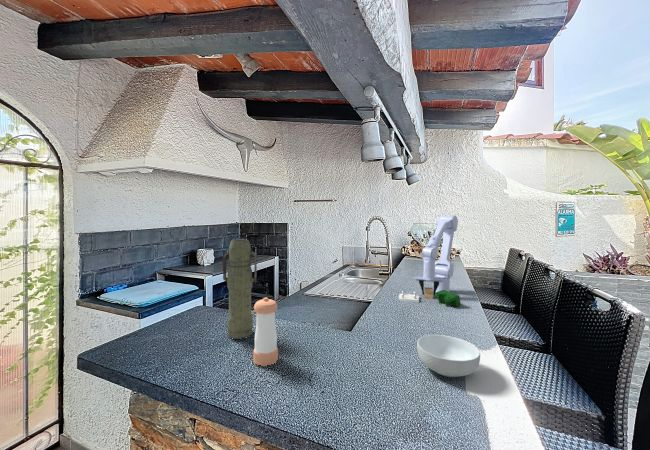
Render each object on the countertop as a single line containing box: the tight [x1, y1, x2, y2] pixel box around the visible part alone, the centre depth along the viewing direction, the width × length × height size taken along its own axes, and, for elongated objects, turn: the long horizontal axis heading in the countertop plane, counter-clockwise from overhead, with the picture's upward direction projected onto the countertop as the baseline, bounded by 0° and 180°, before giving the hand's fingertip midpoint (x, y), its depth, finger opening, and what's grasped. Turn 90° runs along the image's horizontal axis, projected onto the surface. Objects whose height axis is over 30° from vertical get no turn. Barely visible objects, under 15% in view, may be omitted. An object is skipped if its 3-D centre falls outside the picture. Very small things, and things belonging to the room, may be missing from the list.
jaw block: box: [424, 286, 434, 300], centre depth 158 cm, size 4×4×5 cm
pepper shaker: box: [252, 297, 279, 367], centre depth 89 cm, size 7×7×19 cm
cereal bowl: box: [416, 334, 481, 378], centre depth 85 cm, size 17×17×7 cm
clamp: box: [434, 290, 462, 308], centre depth 147 cm, size 12×6×9 cm, turn 11°
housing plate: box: [398, 290, 420, 303], centre depth 155 cm, size 10×10×3 cm
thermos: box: [222, 238, 258, 340], centre depth 108 cm, size 9×12×35 cm
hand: (428, 294), depth 158 cm, fingers open, 5 cm apart
